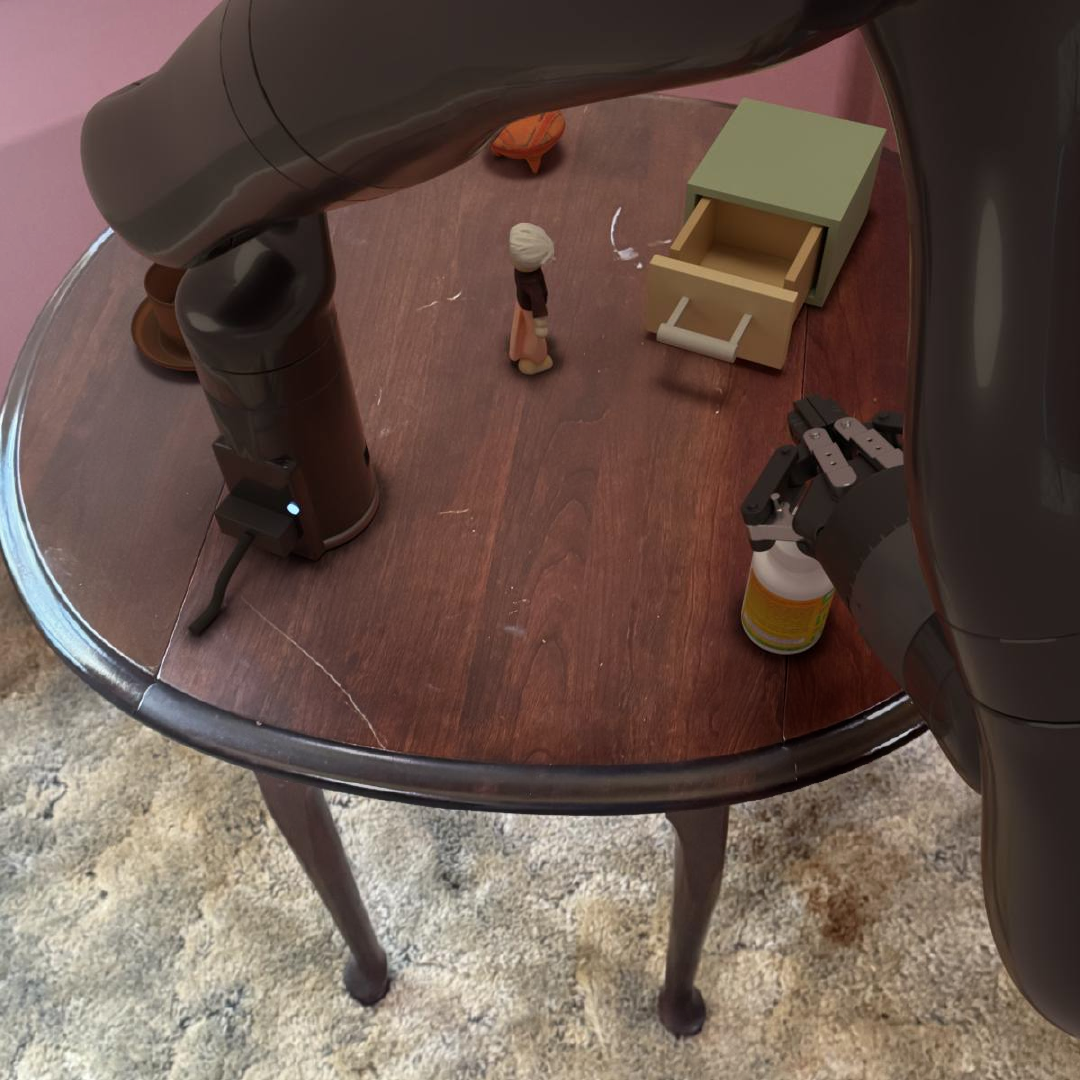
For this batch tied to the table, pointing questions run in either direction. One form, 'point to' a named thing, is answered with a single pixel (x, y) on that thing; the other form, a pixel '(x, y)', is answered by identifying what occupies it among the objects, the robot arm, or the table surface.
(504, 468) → the table surface
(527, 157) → the pot
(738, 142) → the cabinet
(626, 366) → the table surface
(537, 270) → the grandmother figurine
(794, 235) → the drawer
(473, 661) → the table surface
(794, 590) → the supplement bottle
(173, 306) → the cup and saucer
